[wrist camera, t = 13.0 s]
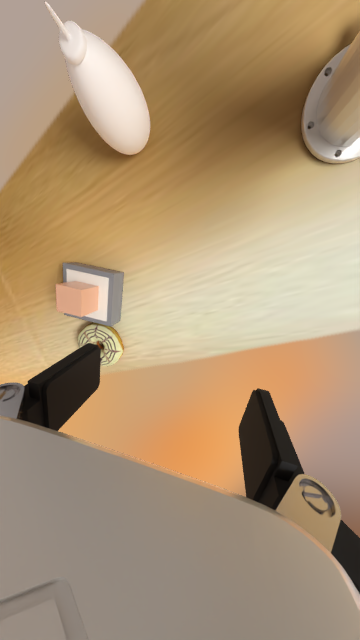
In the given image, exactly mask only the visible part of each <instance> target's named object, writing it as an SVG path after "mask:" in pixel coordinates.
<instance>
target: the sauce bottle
mask: <svg viewBox="0 0 360 640" xmlns="http://www.w3.org/2000/svg"><path fill="white" fill-rule="evenodd" d="M44 2H45V5H46V7H47V9H48V11H49V12H50V14H51V16H52V17H53V19H54V20H55V22H56V24H57V25H58V27H59V28H60V33H59V45H60V48H61V51H62V53H63V55H64V56H65V62H66V67H67V71H68V74H69V78H70V81H71V84H72V87H73V89H74V92H75V94H76V96H77V99H78V101H79V103H80V105H81V107H82V109H83V111H84V113H85V115H86V116H87V118H88V120H89V121H90V123H91V124H92V126H93V127H94V129H95V130H96V131H97V133H98V134H99V135H100V136H101V137H102V139H103V140H104V141H105V142H106V143H107V144H109V145H110V146H111V147H112V148H113V149H115V150H117V151H118V152H120V153H123V154H127V155H133V154H136V153H139V152H140V151H141V150H142V149H143V148H144V147H145V145H146V144H147V141H148V139H149V134H150V116H149V111H148V107H147V104H146V101H145V98H144V95H143V93H142V90H141V88H140V86H139V84H138V83H137V81H136V79H135V77H134V75H133V74H132V72H131V71H130V69H129V68H128V66H127V65H126V64H125V62H124V61H123V60H122V59H121V57H120V56H119V55H118V54H117V53H116V52H115V51H114V50H113V49H112V48H111V47H110V46H109V45H108V44H107V43H105V42H104V41H103V40H102V39H101V38H99V37H98V36H96V35H94V34H93V33H91V32H89V31H87V30H83V29H81V28H80V27H79V26H78V25H77V24H76V23H75V22H73V21H67V22H65V23H64V24H63V23H62V22H61V20H60V19H59V18H58V16H57V15H56V13H55V12H54V11H53V9H52V8H51V7H50V5H49V4H48V3H47V2H46V1H44Z"/></svg>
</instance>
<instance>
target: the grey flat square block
mask: <svg viewBox="0 0 360 640" xmlns="http://www.w3.org/2000/svg"><path fill="white" fill-rule="evenodd" d="M123 278H124V272H119V271H114V270H110V269H105V268H100V267H96V266H91V265H86V264H82V263H63V283H65V282H72V281H78V282H83V283H87V284H92V285H96V286H99V297H98V310H97V311H95V312H92V313H90V314H88V315H85V316H83V317H79V316H75V315H71V314H67V313H64V315H67V316H71V317H75V318H79V319H83V320H87V321H91V322H95V323H99V324H103V325H106V326H110V327H111V326H113V325H114V324H116V323H118V322H119V321H120V317H121V304H122V291H123Z"/></svg>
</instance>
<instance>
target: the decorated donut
mask: <svg viewBox="0 0 360 640" xmlns="http://www.w3.org/2000/svg"><path fill="white" fill-rule="evenodd" d="M99 341H101V342H102V343H103V344H104V347H102V346H100V344H99ZM87 343H92V344H96V345H98V346H99V348H100V349H101V359H100V365H101V366H110V365H113V364H114V363H116V362H117V361H118V360H119V359H120V357H121V356H122V354H123V350H124V346H123V344H122V340H121V338H120V336H119V334H118V333H117V331H116V330H114V328H112V327H110V326H106V325H103V324H99V323H92V324H90V325H88V326H86V327H85V328H84V329H83V330H82V331H81V332H80V334H79V336H78V345H79V348H81V347H82V346H84V345H85V344H87Z"/></svg>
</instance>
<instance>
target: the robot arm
mask: <svg viewBox="0 0 360 640" xmlns="http://www.w3.org/2000/svg"><path fill="white" fill-rule="evenodd" d="M308 128H309V129H310V130H309V129H308ZM301 131H302V135H303V140H304V142H305V144H306V147H307V148H308V149H309V151H310V152H311V153H312V154H313V155H314V156H315V157H316V158H318V159H320V160H322V161H324V162H328V163H334V164H335V163H346V162H350V161H354V160H356V159H358V158H360V31H359V32H358V34H357V36H356V37H355V39H354V40H353V42H352V44H350V45H348V46H347V47H345V48H344V49H342V50H341V51H340V52H339V53H337V54H336V55H335V56H334V57H333V58H332V59H331V60H330V61H329V62H328V63H327V64H326V65H325V67H324V68H323V69H322V71H321V72H320V74H319V75H318V76H317V78H316V80H315V82H314V83H313V85H312V87H311V89H310V91H309V93H308V96H307V98H306V101H305V104H304V107H303V112H302V118H301ZM335 155H336V157H335ZM100 359H101V349H100V348H99V346H98V345H96V344H92V343H87V344H85V345H84V346H82V347H81V348H79V349H78V350H76V351H74V352H73V353H71V354H70V355H68V356H66V357H65V358H63V359H62V360H60V361H59V362H57V363H55V364H54V365H52V366H51V367H49V368H48V369H46V370H44V371H43V372H41V373H40V374H38V375H36V376H35V377H33V378H32V379H30V380H29V381H28V384H27V385H25V386H23V385H22V384H20V383H5V384H1V385H0V640H360V538H359V537H358V536H357V535H356V534H355V533H354V532H353V531H352V530H351V529H350V528H349V527H348V526H347V525H346V524H345V523H344V522H343V521H342V520H341V511H340V508H339V505H338V503H337V501H336V499H335V498H334V496H333V495H332V494H331V492H330V491H329V490H328V489H327V488H326V487H325V486H324V485H323V484H322V483H321V482H319V481H318V480H317V479H315V478H313V477H311V476H309V475H305V474H304V472H303V469H302V467H301V464H300V462H299V459H298V457H297V454H296V452H295V449H294V447H293V445H292V442H291V439H290V437H289V435H288V432H287V430H286V427H285V425H284V423H283V422H282V421H281V420H280V418H279V416H278V413H277V411H276V408H275V406H274V403H273V400H272V398H271V395H270V393H269V391H266V390H261V389H257V390H253V392H252V394H251V397H250V399H249V402H248V404H247V407H246V410H245V412H244V415H243V417H242V420H241V423H240V426H239V438H240V447H241V456H242V464H243V472H244V480H245V489H246V497H244V496H241V495H239V494H236V493H233V492H230V491H228V490H225V489H222V488H220V487H217V486H215V485H212V484H209V483H206V482H203V481H201V480H197V479H195V478H192V477H189V476H186V475H183V474H181V473H178V472H175V471H172V470H169V469H166V468H163V467H161V466H158V465H155V464H152V463H149V462H146V461H143V460H141V459H137V458H134V457H132V456H129V455H126V454H123V453H120V452H117V451H114V450H111V449H108V448H106V447H103V446H100V445H97V444H93V443H91V442H88V441H85V440H82V439H79V438H76V437H73V436H70V435H67V434H64V433H61V432H58V430H59V429H60V428H61V427H62V426H63V424H64V423H65V422H66V421H67V420H68V419H69V418H70V417H71V416H72V415H73V414H74V413H75V412H76V411H77V410H78V409H79V408H80V407H81V405H82V404H83V403H84V402H85V401H86V400H87V399H88V398H89V397H90V396H91V395H92V394H93V393H94V392H95V391H96V390H97V388H98V386H99V383H100Z"/></svg>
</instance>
